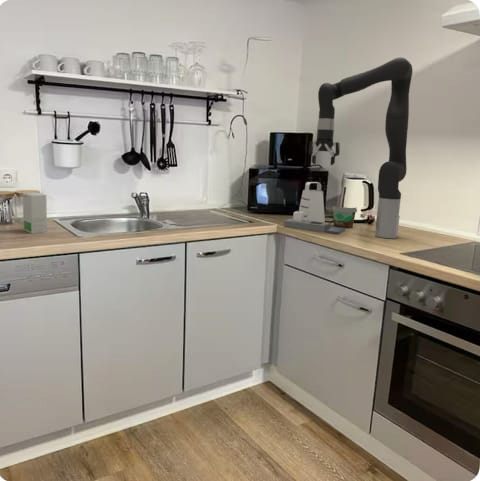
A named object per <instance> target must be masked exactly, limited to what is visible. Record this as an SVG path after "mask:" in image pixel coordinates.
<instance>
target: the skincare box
mask: <svg viewBox="0 0 480 481" xmlns="http://www.w3.org/2000/svg"><path fill="white" fill-rule="evenodd" d="M47 209H48V208H47V195H46V194H43V193H41V192H36V191H35V192H33V191H32V192H22V213H23V214H22V215H23V216H22V218H23V231H25V232H27V233H30V234H32V235H33V234H39V233H47V232H48V223H47V222H48V216H47Z"/></svg>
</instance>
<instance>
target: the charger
mask: <svg viewBox="0 0 480 481" xmlns="http://www.w3.org/2000/svg"><path fill="white" fill-rule="evenodd" d="M304 217H305V216H304V212H300V211H299V210H296V211H294V212H293V216H292V219H293V221H296V222H304Z"/></svg>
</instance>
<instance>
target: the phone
mask: <svg viewBox="0 0 480 481" xmlns="http://www.w3.org/2000/svg"><path fill="white" fill-rule="evenodd" d="M346 229H347V228H339V227H335V226H332V227H330V229H328V230H326V231H325V232H324V233H325V234H331V235H340V234H341V233H344V232H345V231H346Z"/></svg>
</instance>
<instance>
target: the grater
mask: <svg viewBox="0 0 480 481" xmlns="http://www.w3.org/2000/svg"><path fill="white" fill-rule="evenodd" d="M311 184H316V189H310V185H311ZM324 205H325V204H324V191H322V184H321V182H318V181H310V182H309V181H306V182H305V186H304V189H303V190H302V194H301V198H300V202H299V209H298V211H300V212H304V220H309V221H318V222H326V219H325V218H326V217H325V206H324Z"/></svg>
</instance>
